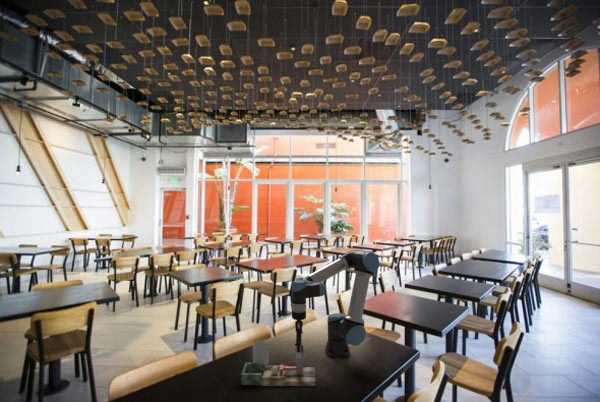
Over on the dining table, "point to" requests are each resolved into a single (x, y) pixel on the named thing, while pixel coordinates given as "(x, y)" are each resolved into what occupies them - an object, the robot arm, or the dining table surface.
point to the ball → (274, 370)
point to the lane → (275, 376)
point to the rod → (297, 368)
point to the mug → (261, 352)
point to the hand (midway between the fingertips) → (298, 352)
